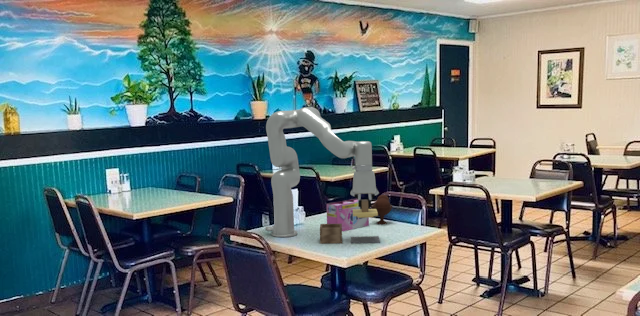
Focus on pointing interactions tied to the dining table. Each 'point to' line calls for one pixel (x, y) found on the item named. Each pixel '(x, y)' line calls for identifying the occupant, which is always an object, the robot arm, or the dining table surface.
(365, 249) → the dining table surface
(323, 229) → the box
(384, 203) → the ice cream bowl
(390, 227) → the dining table surface
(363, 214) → the lid
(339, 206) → the gum box
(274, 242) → the dining table surface
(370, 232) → the dining table surface
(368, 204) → the robot arm
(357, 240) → the mat
